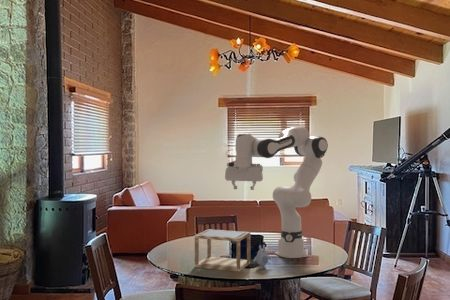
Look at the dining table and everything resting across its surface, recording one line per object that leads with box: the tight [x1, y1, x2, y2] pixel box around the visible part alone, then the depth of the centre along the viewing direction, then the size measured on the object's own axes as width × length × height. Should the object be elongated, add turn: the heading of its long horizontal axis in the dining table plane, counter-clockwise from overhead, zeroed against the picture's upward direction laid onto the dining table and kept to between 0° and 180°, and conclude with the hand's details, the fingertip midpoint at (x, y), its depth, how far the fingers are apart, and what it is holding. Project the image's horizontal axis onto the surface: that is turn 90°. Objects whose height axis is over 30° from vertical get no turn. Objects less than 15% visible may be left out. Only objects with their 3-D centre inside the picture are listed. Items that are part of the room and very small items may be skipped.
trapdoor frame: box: [194, 228, 251, 273], centre depth 243 cm, size 24×18×16 cm
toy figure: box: [252, 244, 272, 270], centre depth 236 cm, size 11×6×12 cm, turn 120°
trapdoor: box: [200, 229, 246, 245], centre depth 243 cm, size 20×14×3 cm
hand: (243, 189), depth 247 cm, fingers open, 8 cm apart
